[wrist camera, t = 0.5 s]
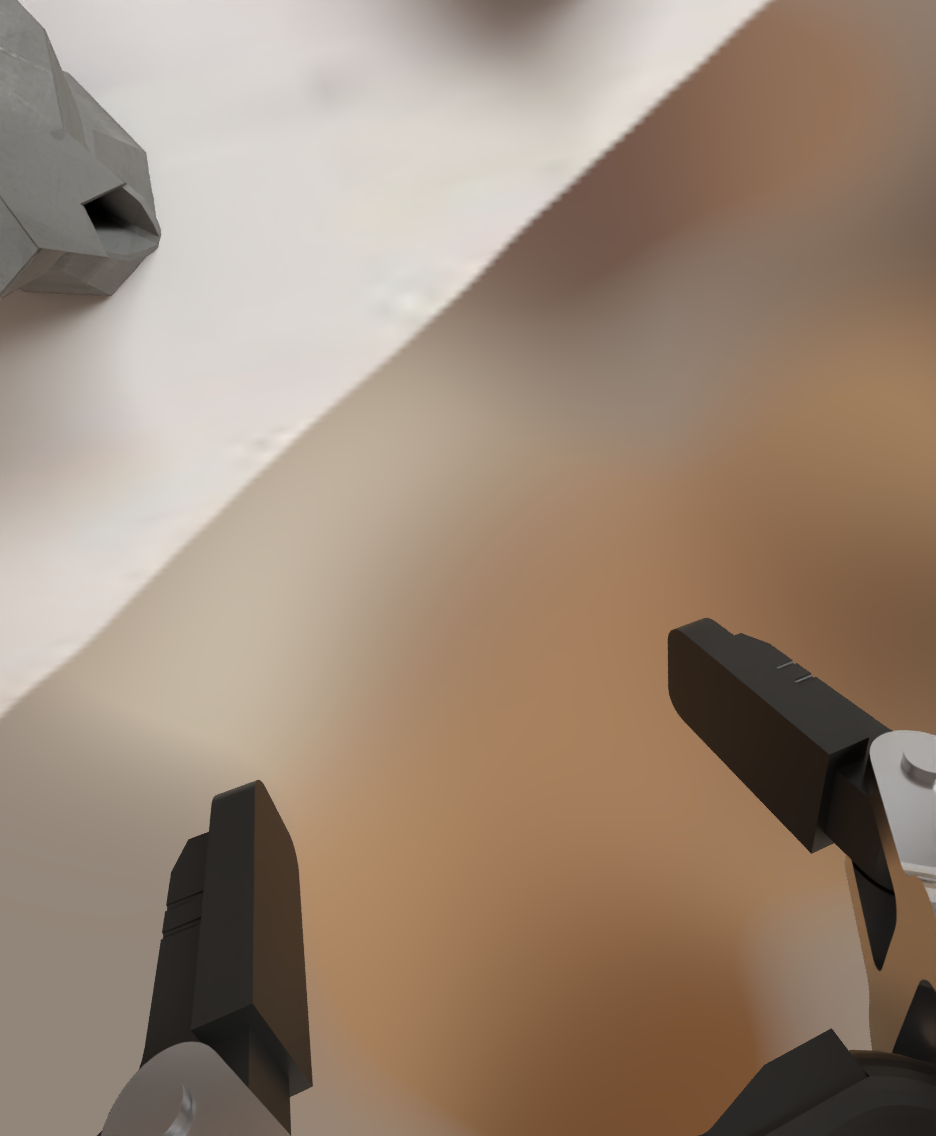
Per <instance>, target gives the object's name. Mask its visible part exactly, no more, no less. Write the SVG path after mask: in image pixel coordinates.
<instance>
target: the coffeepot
mask: <svg viewBox="0 0 936 1136" xmlns="http://www.w3.org/2000/svg"><path fill="white" fill-rule="evenodd" d="M160 237H161V229H160V226H159V224H158V221H157V219H156V215H155V206H154V198H153V194H152V189H151V183H150V176H149V170H148V163H147V156H146V152H145V151H144V150H143V149H142V148H141V147H140V146H139V145H138V144H137V143H136V142H135V141H134V140H133V138H132V137H131V136H130V135H129V134H128V133H127V132H126V131H125V130H124V129H123V128H122V127H121V126H120V125H119V124H118V123H117V122H116V121H115V120H114V119H113V118H112V117H111V116H110V115H109V114H108V113H107V112H106V111H105V110H104V109H103V108H102V107H101V106H100V105H99V104H98V103H97V102H96V101H95V99H94V98H93V97H92V96H91V95H90V94H89V93H88V92H87V91H86V90H85V89H84V88H83V87H82V86H81V85H80V84H79V83H78V82H77V81H76V80H75V79H74V78H73V77H72V76H71V75H70V74H69V73H67V72H64V71H62V69H61V67H60V64H59V62H58V59H57V57H56V55H55V52H54V50H53V47H52V45H51V42H50V40H49V38H48V35H47V33H46V31H45V29H44V28H43V27H42V26H41V25H40V24H39V23H38V22H37V21H36V19H35V18H34V17H33V16H32V15H31V14H30V13H29V12H28V11H27V10H26V9H25V8H24V7H23V6H22V5H21V4H20V3H19V2H18V1H17V0H0V299H1V298H3V297H5V296H6V295H8V294H10V293H12V292H13V291H15V290H17V289H21V290H23V291H25V292H44V293H65V294H86V295H107V296H111V295H112V294H113V293H114V292H115V291H116V290H117V288H118V287H119V286H120V285H121V284H122V283H123V282H124V281H125V280H126V279H127V278H128V276H129V275H130V274H131V273H132V272H133V271H134V270H135V269H136V268H137V267H138V265H139V264H140V262H141V261H142V260H143V259H144V258H145V257H146V256H147V255H149V254H151V253H153V252H154V251H155V250H156V249H157V248H158V245H159V241H160Z"/></svg>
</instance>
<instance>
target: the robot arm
mask: <svg viewBox="0 0 936 1136" xmlns="http://www.w3.org/2000/svg"><path fill="white" fill-rule="evenodd" d="M668 689H669V695H670V698H671V701H672V704H673V706H674V708H675V710H676V711H677V713H678V714H679V716H680V717H681V718H682V719H683V721H684V722H685V723H686V724H687V725H688V726H689V727H690V728H691V729H692V730H693V731H694V732H695V733H696V734H697V735H698V736H699V737H700V738H701V739H702V740H703V741H704V742H705V743H706V745H707V746H708V747H709V748H710V749H711V750H712V751H713V752H714V753H715V754H716V755H717V756H718V757H719V758H720V759H721V760H722V761H723V762H724V763H725V764H726V765H727V766H728V767H729V768H730V770H732V772H733V773H734V774H735V775H736V776H737V777H738V778H739V779H740V780H741V781H742V782H743V783H744V784H745V785H746V786H747V787H748V788H749V789H750V790H751V791H752V792H753V793H754V794H755V796H756V797H757V798H758V799H759V800H760V801H761V802H762V803H763V804H764V805H765V806H766V807H767V808H768V809H769V810H770V811H771V812H772V813H773V814H774V815H775V816H776V817H777V818H778V819H779V820H780V822H781V823H782V824H783V825H784V826H785V827H786V828H787V829H788V830H789V831H790V832H791V833H792V834H793V835H794V836H795V837H796V838H797V839H798V840H799V841H800V842H801V843H802V844H803V845H804V846H805V847H806V849H807V850H808V851H809V852H810V853H814V852H816V851H818V850H820V849H823V848H825V847H827V846H829V845H831V844H833V843H835V844H836V845H837V846H838V847H839V848H840V849H841V850H842V851H843V852H844V853H845V854H846V856H845V871H846V875H847V880H848V885H849V890H850V895H851V900H852V904H853V909H854V914H855V919H856V924H857V929H858V934H859V938H860V943H861V948H862V953H863V958H864V963H865V968H866V973H867V978H868V985H869V1027H870V1038H871V1045H872V1051H867V1050H849V1051H848V1049H847V1048H846V1047H845V1045H844V1044H843V1043H842V1041H841V1040H840V1039H839V1038H838V1036H837V1035H836V1034H835V1032H834V1031H833V1030H832V1029H829V1030H828V1031H826V1032H824V1033H822V1034H820V1035H819V1036H817V1037H815V1038H813V1039H811V1040H809V1041H808V1042H806V1043H804V1044H802V1045H800V1046H798V1047H797V1048H795V1049H793V1050H791V1051H789V1052H787V1053H785V1054H784V1055H782V1056H780V1057H778V1058H776V1059H774V1060H773V1061H771V1062H769V1063H767V1064H765V1065H764V1066H763V1067H762V1068H761V1069H760V1071H759V1072H758V1073H757V1074H756V1075H755V1077H754V1078H753V1079H752V1080H751V1081H750V1083H749V1084H748V1085H747V1086H746V1087H745V1088H744V1090H743V1091H742V1092H741V1093H740V1094H739V1096H738V1097H737V1098H736V1099H735V1100H734V1102H733V1103H732V1104H731V1105H730V1106H729V1108H728V1109H727V1110H726V1111H725V1112H724V1114H723V1115H722V1116H721V1117H720V1119H719V1120H718V1121H717V1122H716V1123H715V1124H714V1126H713V1127H712V1128H711V1129H710V1130H709V1131H708V1132H706V1133H704V1134H702V1135H699V1136H936V736H935V735H932V734H928V733H923V732H918V731H908V730H902V731H901V730H900V731H892V730H890V729H889V728H887V727H886V726H884V725H883V724H881V723H880V722H879V721H877V720H875V719H874V718H873V717H872V716H870V715H869V714H867V713H866V712H865V711H863V710H862V709H860V708H859V707H858V706H856V705H855V704H853V703H852V702H851V701H849V700H848V699H846V698H845V697H843V696H842V695H841V694H839V693H838V692H836V691H835V690H834V689H832V688H831V687H830V686H828V685H827V684H825V683H824V682H823V681H821V680H820V679H818V678H817V677H814V678H813V677H812V675H811V673H810V672H809V671H807V670H806V669H804V668H803V667H801V666H800V665H799V664H797V663H796V664H794V663H793V661H792V659H790V658H789V657H787V656H786V655H785V654H783V653H782V652H780V651H779V650H778V649H776V648H775V647H773V646H772V645H771V644H769V643H766V642H764V641H761V640H758V639H755V638H753V637H750V636H747V635H744V634H742V633H740V634H737V635H735V636H734V635H733V634H731V633H730V632H728V631H727V630H726V629H725V628H723V627H722V626H720V625H719V624H718V623H717V622H715V621H714V620H712V619H710V618H704V619H701V620H698V621H695V622H692V623H690V624H687V625H684V626H681V627H679V628H676V629H674V630H671V631H670V633H669V636H668ZM166 905H167V911H165V917H164V923H163V930H162V933H163V939H162V940H161V943H160V950H159V957H158V963H157V970H156V977H155V983H154V990H153V997H152V1003H151V1010H150V1016H149V1023H148V1030H147V1037H146V1043H145V1049H144V1054H143V1058H142V1062H141V1065H140V1068H139V1070H138V1071H137V1072H136V1073H135V1075H134V1076H133V1077H132V1078H131V1079H130V1081H129V1082H128V1083H127V1084H126V1086H125V1087H124V1088H123V1090H122V1091H121V1093H120V1094H119V1096H118V1098H117V1099H116V1101H115V1103H114V1104H113V1106H112V1108H111V1110H110V1112H109V1115H108V1117H107V1119H106V1122H105V1124H104V1126H103V1130H102V1131H101V1132H100V1133H99V1134H98V1135H97V1136H291V1123H290V1122H291V1120H290V1097H291V1096H293V1095H295V1094H298V1093H299V1092H302V1091H304V1090H306V1089H308V1088H310V1087H312V1086H313V1083H312V1068H311V1052H310V1037H309V1021H308V1006H307V991H306V975H305V961H304V944H303V929H302V913H301V899H300V883H299V869H298V862H297V857H296V853H295V849H294V845H293V842H292V839H291V837H290V835H289V832H288V830H287V829H286V826H285V824H284V823H283V821H282V819H281V817H280V815H279V813H278V811H277V809H276V807H275V805H274V803H273V801H272V799H271V797H270V795H269V794H268V791H267V789H266V787H265V786H264V784H263V783H262V782H261V781H260V780H256V781H254V782H251V783H248V784H245V785H243V786H240V787H237V788H235V789H232V790H229V791H226V792H224V793H221V794H218V795H216V796H215V797H214V798H213V800H212V806H211V816H210V827H209V832H207V833H204V834H202V835H199V836H196V837H194V838H191V839H189V840H188V841H187V843H186V845H185V847H184V849H183V851H182V853H181V855H180V857H179V858H178V860H177V862H176V864H175V866H174V868H173V870H172V872H171V878H170V884H169V890H168V897H167V904H166Z"/></svg>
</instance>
